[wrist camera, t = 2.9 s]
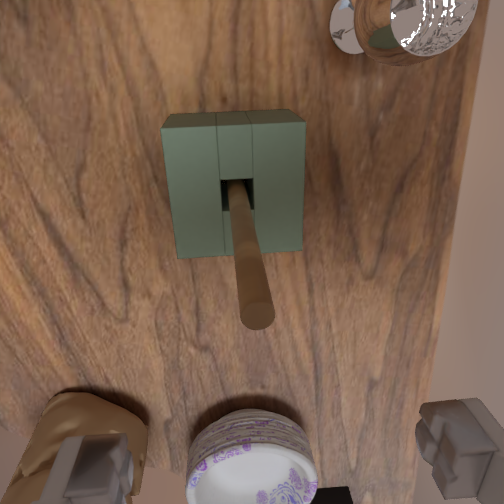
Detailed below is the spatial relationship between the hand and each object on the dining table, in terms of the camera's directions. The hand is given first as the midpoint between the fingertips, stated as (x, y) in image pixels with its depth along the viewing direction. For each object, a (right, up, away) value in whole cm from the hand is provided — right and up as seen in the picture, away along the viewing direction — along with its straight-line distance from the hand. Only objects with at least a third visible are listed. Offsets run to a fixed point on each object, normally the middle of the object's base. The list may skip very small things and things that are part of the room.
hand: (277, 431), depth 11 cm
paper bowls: (-1, -19, +40) cm, 45 cm away
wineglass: (+8, +23, +20) cm, 31 cm away
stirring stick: (-2, +12, +24) cm, 27 cm away
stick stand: (-2, +12, +24) cm, 27 cm away
